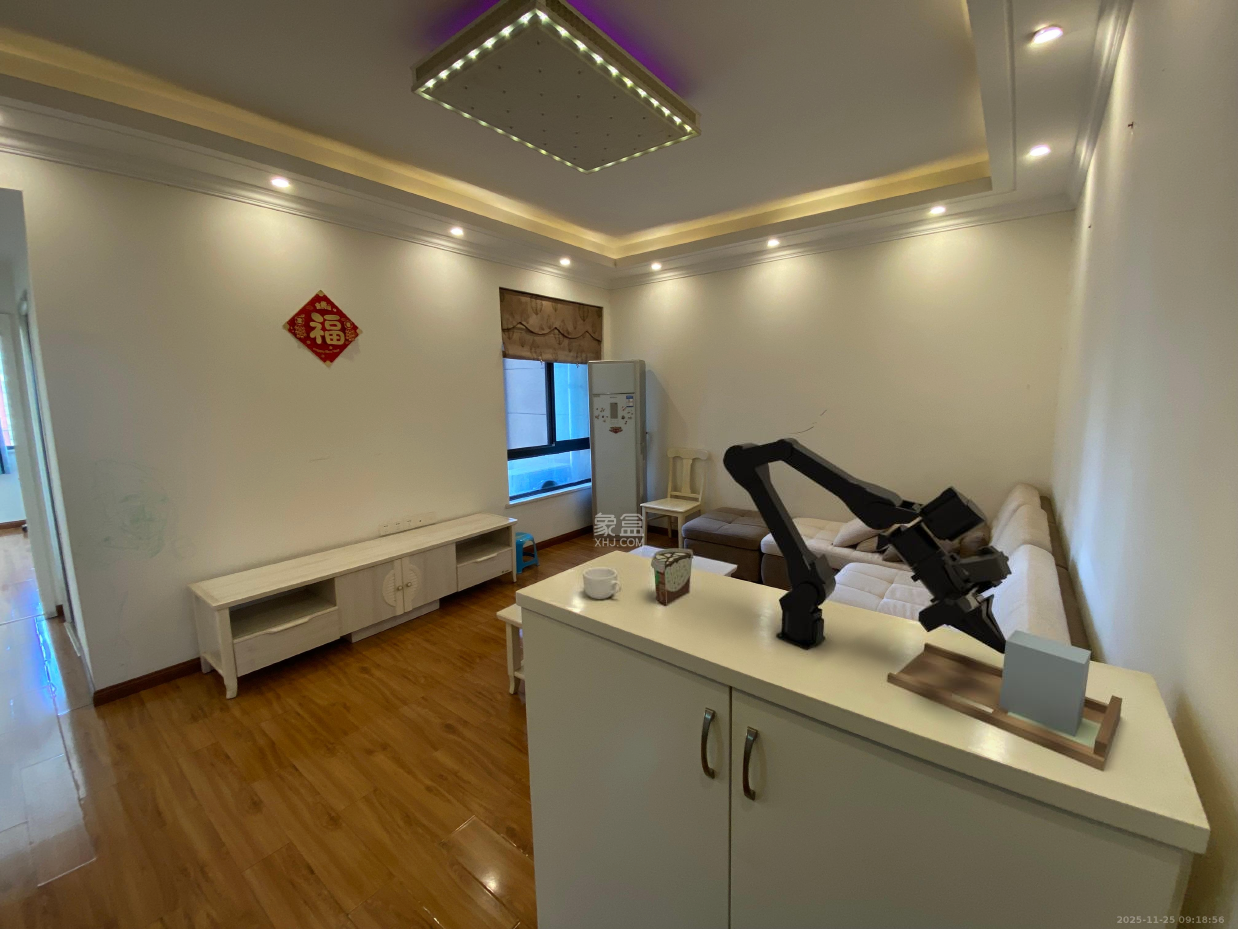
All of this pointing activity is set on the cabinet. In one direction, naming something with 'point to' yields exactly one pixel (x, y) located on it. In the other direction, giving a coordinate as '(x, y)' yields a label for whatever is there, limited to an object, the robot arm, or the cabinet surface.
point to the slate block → (1045, 681)
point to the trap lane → (981, 683)
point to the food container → (672, 574)
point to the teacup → (600, 582)
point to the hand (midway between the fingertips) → (1006, 652)
